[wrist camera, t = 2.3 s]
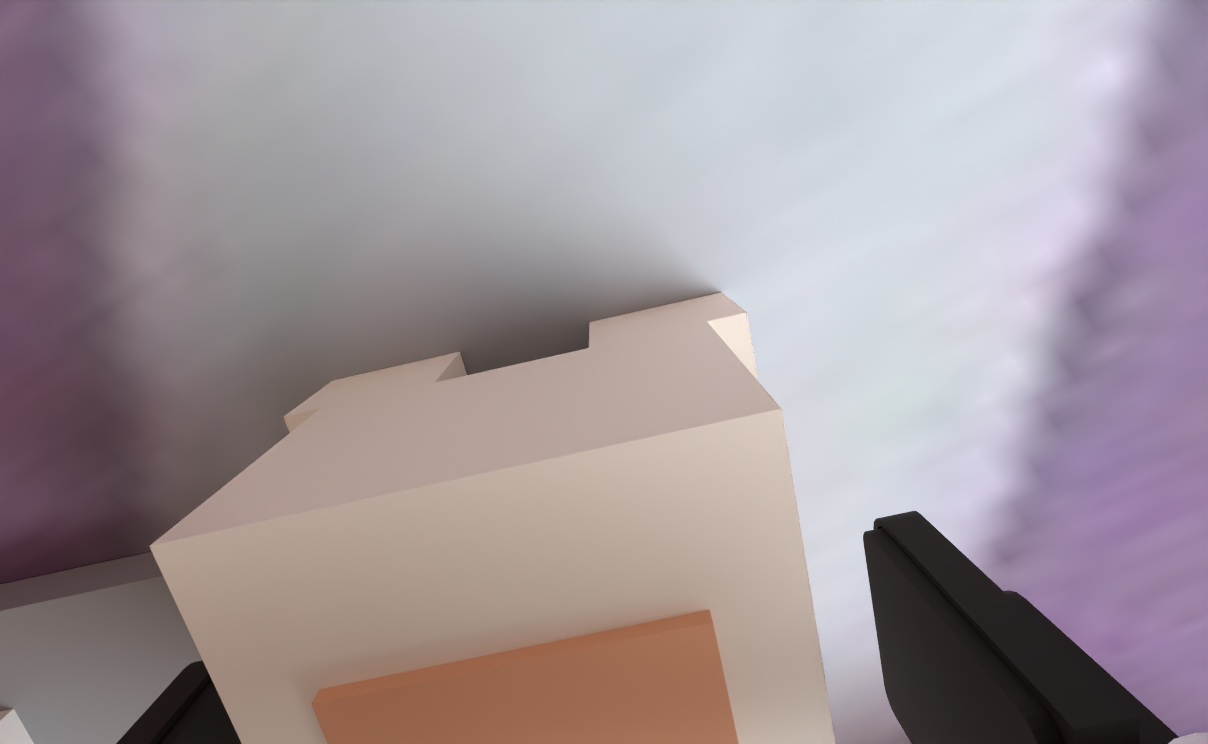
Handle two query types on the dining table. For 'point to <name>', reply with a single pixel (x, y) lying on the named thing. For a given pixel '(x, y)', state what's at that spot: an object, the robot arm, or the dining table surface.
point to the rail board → (87, 651)
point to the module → (518, 554)
